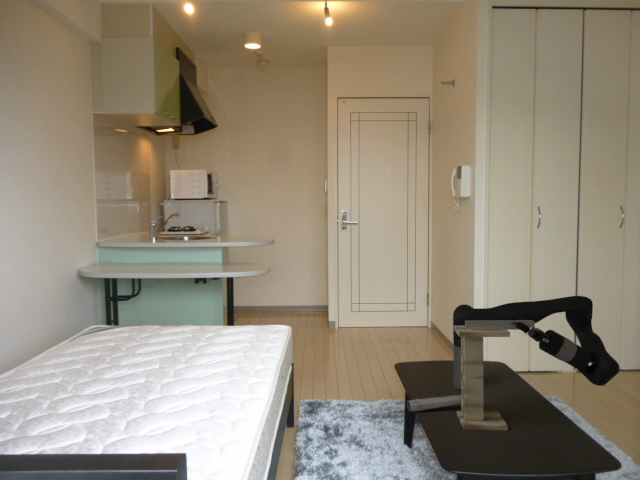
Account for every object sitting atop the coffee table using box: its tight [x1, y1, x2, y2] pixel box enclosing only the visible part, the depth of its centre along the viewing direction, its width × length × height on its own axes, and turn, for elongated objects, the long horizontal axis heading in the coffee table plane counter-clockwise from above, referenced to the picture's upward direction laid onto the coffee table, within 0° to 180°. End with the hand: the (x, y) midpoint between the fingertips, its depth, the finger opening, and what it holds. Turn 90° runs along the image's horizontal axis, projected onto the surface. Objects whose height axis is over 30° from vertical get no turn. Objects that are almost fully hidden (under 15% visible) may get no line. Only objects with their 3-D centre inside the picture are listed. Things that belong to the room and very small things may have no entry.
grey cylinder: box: [406, 394, 461, 413], centre depth 179 cm, size 5×7×25 cm
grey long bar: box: [465, 320, 536, 331], centre depth 166 cm, size 3×22×3 cm, turn 85°
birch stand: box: [454, 326, 511, 431], centre depth 167 cm, size 12×16×32 cm
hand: (513, 321), depth 166 cm, fingers open, 7 cm apart
